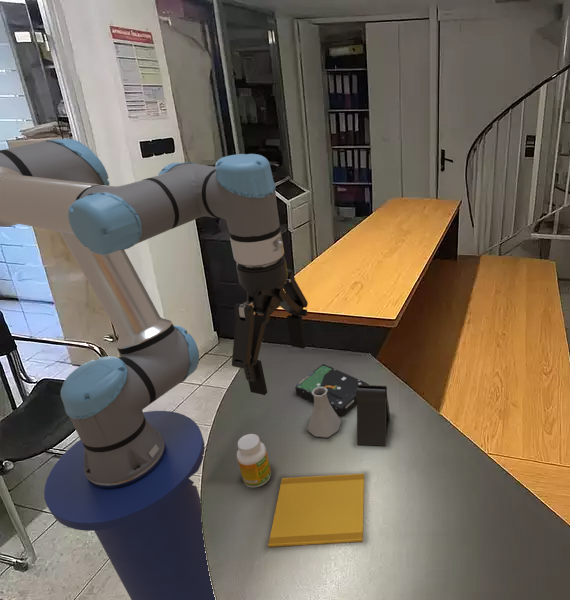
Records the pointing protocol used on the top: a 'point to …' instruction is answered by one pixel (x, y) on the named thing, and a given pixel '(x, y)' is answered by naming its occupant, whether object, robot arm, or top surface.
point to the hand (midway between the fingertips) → (280, 368)
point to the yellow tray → (319, 510)
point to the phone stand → (372, 415)
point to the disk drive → (331, 387)
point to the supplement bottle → (253, 461)
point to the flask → (323, 415)
